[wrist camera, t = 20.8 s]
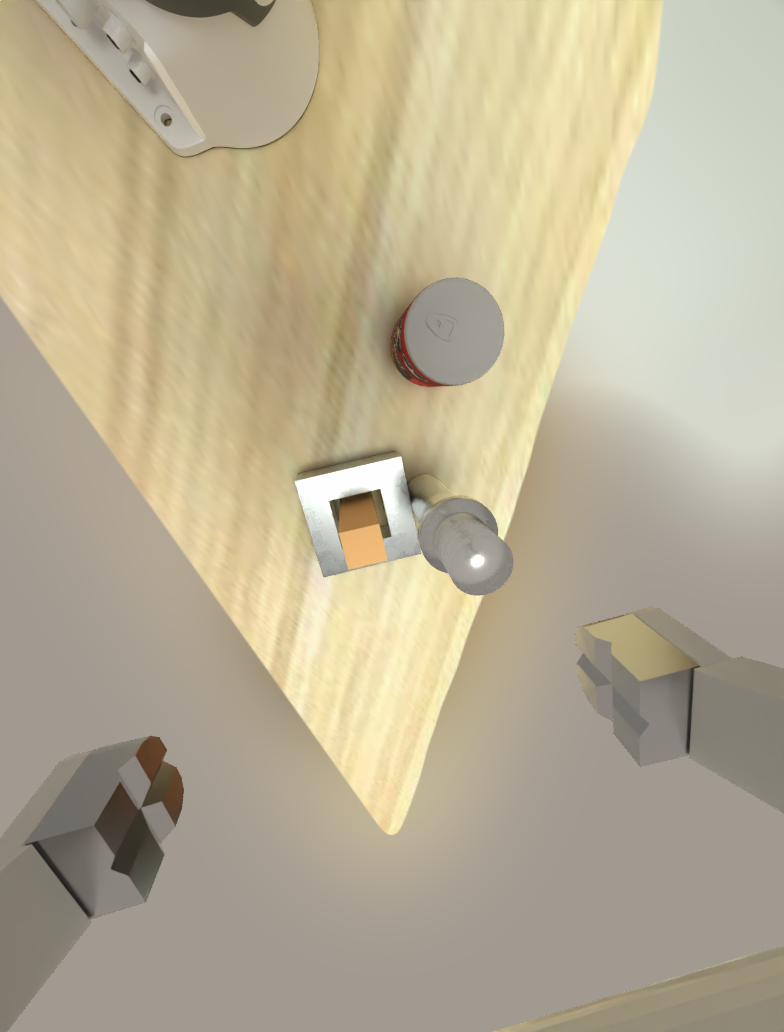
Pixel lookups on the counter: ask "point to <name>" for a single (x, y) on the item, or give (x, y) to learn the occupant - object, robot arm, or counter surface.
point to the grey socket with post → (408, 522)
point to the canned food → (448, 334)
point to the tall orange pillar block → (360, 531)
